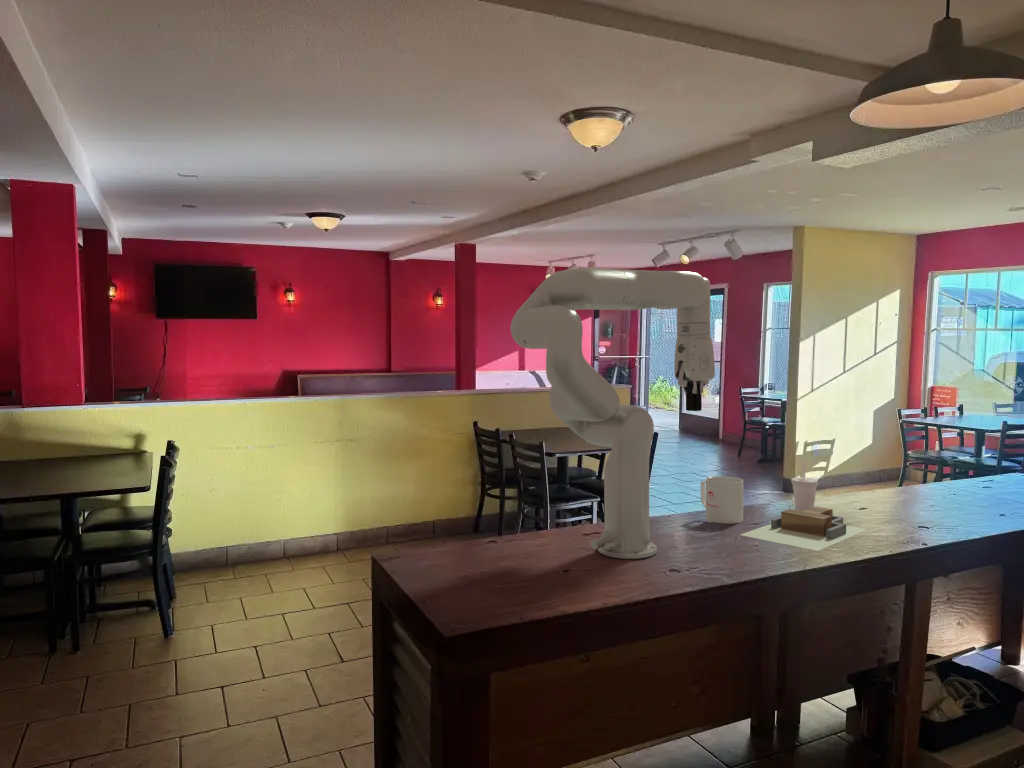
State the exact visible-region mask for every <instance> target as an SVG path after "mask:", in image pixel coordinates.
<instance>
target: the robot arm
mask: <svg viewBox="0 0 1024 768" xmlns="http://www.w3.org/2000/svg"><path fill="white" fill-rule="evenodd" d="M651 308H652V309H653V308H654V309H657V310H674V309H676V341H675V347H674V348H675V350H674V366H673V367H674V378H675V379H676V380H678V381H677V385H678V386H679V387H682V388H683V392H684V394H685V411H687V412H701V411H702V409H703V408H702V405H703V404H702V403H703V402H702V394H703V392H704V387H705V386H706V385H709V384H710V380H713V379H714V378H715V375H716V374H715V373H716V372H715V371H716V370H715V369H716V368H715V354H714V351H715V350H714V345H713V340H712V337H711V281H710V279H708V278H706V277H703V276H702V275H701V274H699V273H698V272H693V271H680V270H648V269H647V270H645V269H618V268H615V269H613V268H602V267H601V268H600V267H578V268H571V269H564V270H559V271H555V272H553V273H551V274H550V275H549V276H548V277H546V278H545V280H543V281H542V283H540V284H539V286H537V287H536V289H535V290H534V291H533V292H532V294H530V296H529V297H528V298H527V299H526V300H525V301H524V303H522V305H521V306H520V307H519V308H518V309H517V311H516V312H515V313H514V315H513V317H512V320H511V323H510V335H511V337H512V340H514V341H513V342H515V343H516V344H517V345H518V346H520V347H522V348H523V349H529V350H546V352H545V353H546V354H545V355H546V356H545V375H546V377H547V381H548V383H549V384H550V386H551V387H550V389H549V392H548V404H549V406H550V409H551V411H552V413H553V414H554V415H555V417H556V418H557V419H558V420H560V421H561V422H562V424H564V425H565V426H566V427H567V428H569V429H570V430H571V431H572V432H573V433H574V434H575V435H576V436H578V437H579V438H581V439H582V440H584V441H585V442H586V443H588V444H591V445H594V446H599V447H605V448H606V447H607V448H611V450H610V452H609V455H608V457H607V459H606V461H605V464H604V470H603V472H604V474H603V475H604V476H603V481H604V482H603V483H604V485H603V486H604V493H603V495H604V497H603V498H604V531H602V532H601V537H600V538H596V539H594V540H591V541H590V548H591V549H592V550H597V551H598V552H599V554H601V555H603V556H606V557H611V558H616V559H623V560H635V559H638V560H639V559H645V558H650V557H652V556H654V555H656V554H657V551H658V548H657V545H656V544H655V543H653V542H651V541H650V454H651V448H652V442H653V438H654V432H655V431H654V430H655V426H654V420H653V418H652V416H651V415H650V413H649V412H648V411H647V410H646V409H644V408H643V407H640V406H637V405H633V404H623V403H622V404H621V403H620V401H621V400H620V396H619V394H618V392H617V390H616V389H615V388H614V386H613V385H612V384H611V383H610V382H609V381H607V380H606V378H605V377H603V375H602V374H600V372H598V371H597V370H596V369H595V368H594V367H592V365H591V364H590V363H589V362H588V361H587V360H586V358H585V356H584V353H583V334H584V333H583V323H582V319H581V317H580V314H578V312H577V311H578V310H579V311H580V310H581V311H584V310H585V311H586V310H591V311H593V310H594V311H595V310H596V311H597V310H598V311H599V310H600V311H602V310H603V311H608V310H609V311H636V310H637V311H638V310H646V309H651Z"/></svg>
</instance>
